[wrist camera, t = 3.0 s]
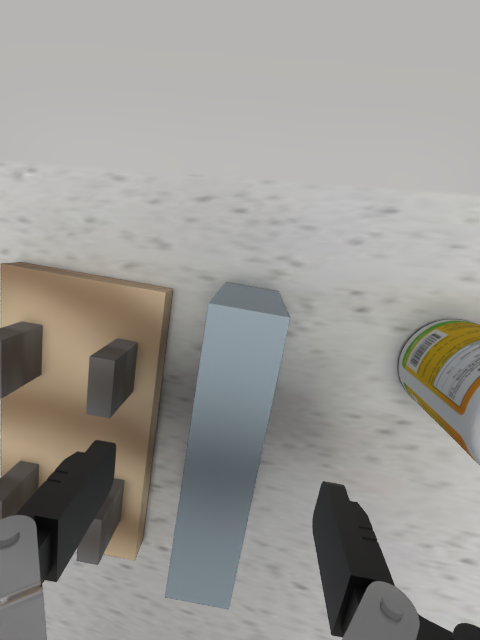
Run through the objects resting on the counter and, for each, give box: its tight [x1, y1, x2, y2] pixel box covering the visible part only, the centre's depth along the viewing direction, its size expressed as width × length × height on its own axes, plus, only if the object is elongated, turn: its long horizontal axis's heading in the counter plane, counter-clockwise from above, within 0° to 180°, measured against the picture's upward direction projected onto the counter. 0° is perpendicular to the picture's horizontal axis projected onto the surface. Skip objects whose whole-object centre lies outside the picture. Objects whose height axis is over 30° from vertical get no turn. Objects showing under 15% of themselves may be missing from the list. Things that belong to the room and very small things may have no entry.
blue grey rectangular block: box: [165, 282, 290, 609], centre depth 17 cm, size 14×3×7 cm, turn 170°
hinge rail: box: [0, 262, 173, 565], centre depth 19 cm, size 18×9×4 cm, turn 170°
